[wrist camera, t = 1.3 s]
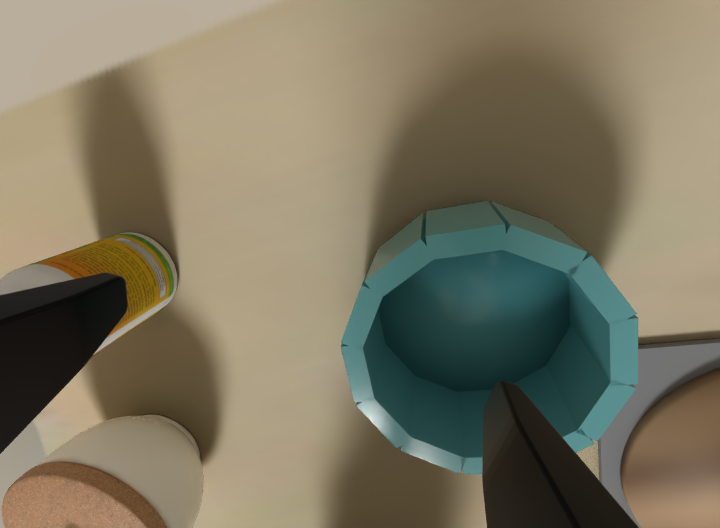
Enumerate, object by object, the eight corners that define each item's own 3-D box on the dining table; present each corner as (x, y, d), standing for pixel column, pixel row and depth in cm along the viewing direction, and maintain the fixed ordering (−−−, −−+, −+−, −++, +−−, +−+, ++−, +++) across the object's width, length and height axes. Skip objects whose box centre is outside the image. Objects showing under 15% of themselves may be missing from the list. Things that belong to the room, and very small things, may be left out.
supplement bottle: (123, 212, 24) (-59, 264, 15) (194, 266, 25) (59, 347, 16) (92, 274, 26) (-86, 353, 17) (158, 323, 27) (19, 425, 18)
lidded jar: (84, 451, 32) (-45, 572, 23) (125, 362, 28) (-11, 467, 20) (196, 520, 33) (111, 664, 24) (252, 441, 29) (174, 578, 20)
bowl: (586, 387, 23) (637, 470, 17) (385, 400, 26) (372, 476, 20) (579, 181, 20) (638, 203, 14) (346, 220, 22) (317, 253, 17)
